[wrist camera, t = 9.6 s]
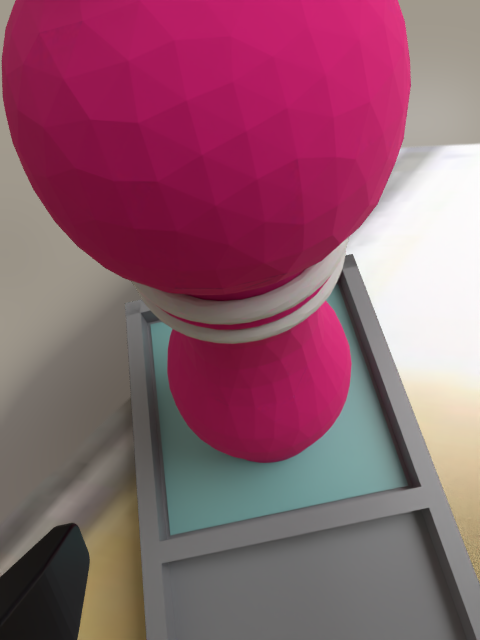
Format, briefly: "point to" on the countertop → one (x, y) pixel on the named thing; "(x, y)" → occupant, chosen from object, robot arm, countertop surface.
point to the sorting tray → (297, 512)
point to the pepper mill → (218, 181)
